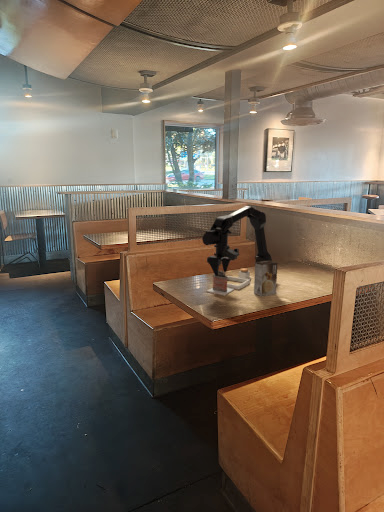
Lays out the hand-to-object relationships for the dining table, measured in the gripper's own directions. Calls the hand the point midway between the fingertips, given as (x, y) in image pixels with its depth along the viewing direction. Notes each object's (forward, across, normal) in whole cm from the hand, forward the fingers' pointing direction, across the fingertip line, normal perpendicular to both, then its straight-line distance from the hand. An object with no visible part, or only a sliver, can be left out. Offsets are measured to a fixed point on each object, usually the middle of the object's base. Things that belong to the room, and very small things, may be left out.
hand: (220, 273), depth 180 cm
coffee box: (+9, +9, -20) cm, 24 cm away
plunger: (+7, +26, -1) cm, 27 cm away
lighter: (+9, 0, 0) cm, 9 cm away
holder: (+9, +18, 0) cm, 20 cm away
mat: (+9, 0, 0) cm, 9 cm away
